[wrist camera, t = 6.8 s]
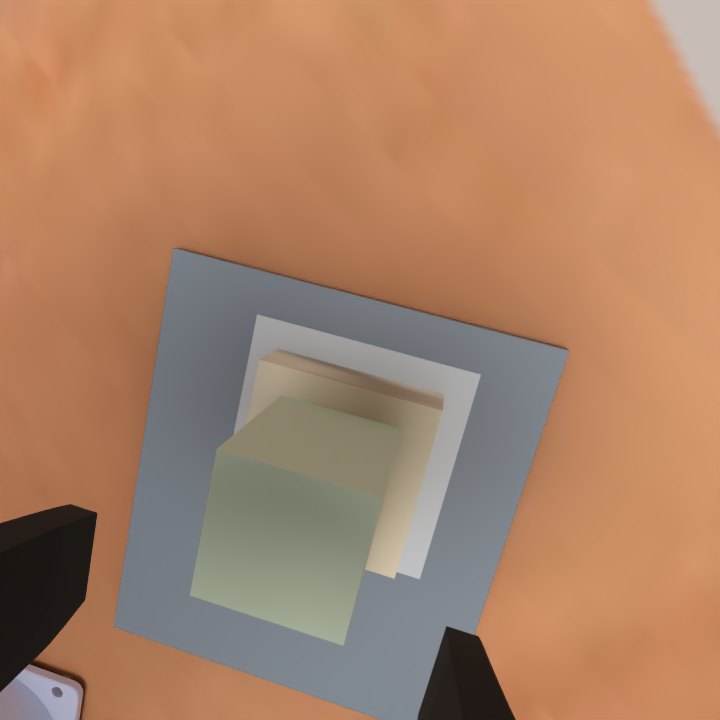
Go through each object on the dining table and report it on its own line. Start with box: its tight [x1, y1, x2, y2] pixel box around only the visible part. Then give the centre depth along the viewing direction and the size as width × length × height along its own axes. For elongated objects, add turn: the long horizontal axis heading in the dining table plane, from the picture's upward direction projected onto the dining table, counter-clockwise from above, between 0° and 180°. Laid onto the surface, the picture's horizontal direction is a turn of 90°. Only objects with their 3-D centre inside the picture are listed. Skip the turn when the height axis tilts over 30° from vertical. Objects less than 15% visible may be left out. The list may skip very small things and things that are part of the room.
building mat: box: [114, 248, 569, 720], centre depth 21 cm, size 14×16×1 cm
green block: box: [190, 395, 402, 646], centre depth 16 cm, size 4×4×5 cm
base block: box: [246, 349, 444, 579], centre depth 19 cm, size 6×6×2 cm
